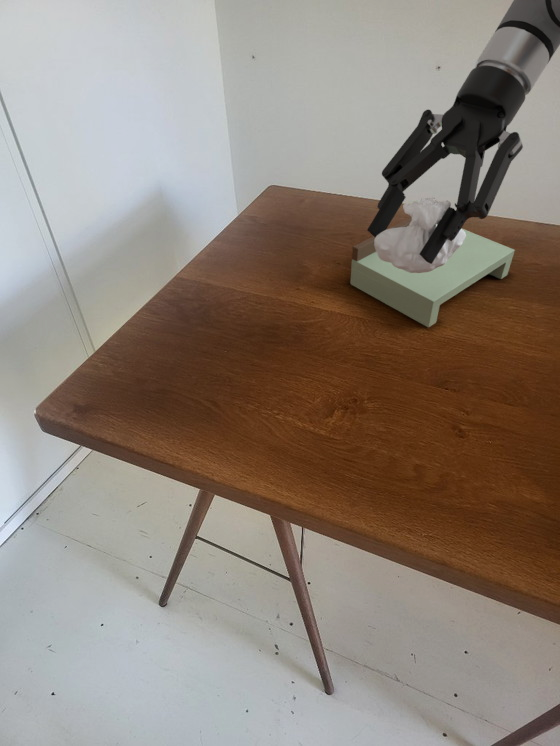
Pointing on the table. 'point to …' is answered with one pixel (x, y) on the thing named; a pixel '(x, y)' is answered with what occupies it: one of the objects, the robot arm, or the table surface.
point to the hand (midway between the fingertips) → (398, 246)
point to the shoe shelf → (427, 275)
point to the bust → (416, 238)
